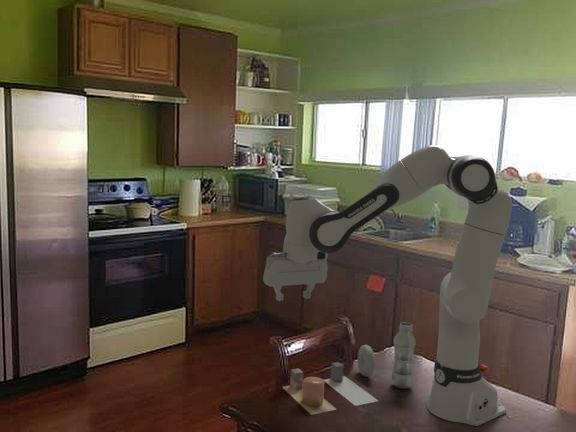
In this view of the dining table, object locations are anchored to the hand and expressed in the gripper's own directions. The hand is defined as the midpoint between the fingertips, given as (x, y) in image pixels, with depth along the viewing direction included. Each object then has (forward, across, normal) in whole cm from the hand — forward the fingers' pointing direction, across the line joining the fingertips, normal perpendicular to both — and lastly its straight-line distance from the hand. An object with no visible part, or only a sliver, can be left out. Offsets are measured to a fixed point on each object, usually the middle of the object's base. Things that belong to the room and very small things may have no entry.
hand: (293, 298), depth 158 cm
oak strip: (+28, +2, -9) cm, 29 cm away
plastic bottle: (+26, +34, -15) cm, 45 cm away
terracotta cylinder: (+26, +2, -12) cm, 29 cm away
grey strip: (+27, +16, -11) cm, 34 cm away
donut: (+27, +29, -3) cm, 40 cm away
